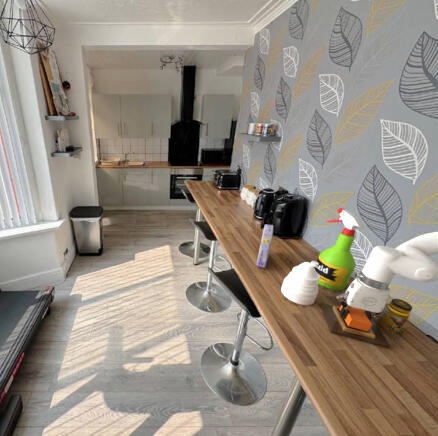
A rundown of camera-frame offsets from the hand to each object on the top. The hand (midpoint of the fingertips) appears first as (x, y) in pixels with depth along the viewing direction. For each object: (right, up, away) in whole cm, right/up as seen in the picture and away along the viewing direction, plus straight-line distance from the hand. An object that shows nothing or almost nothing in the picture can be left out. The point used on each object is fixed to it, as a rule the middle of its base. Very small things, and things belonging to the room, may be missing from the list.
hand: (353, 318), depth 88 cm
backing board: (0, -3, +1) cm, 3 cm away
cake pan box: (-15, +15, +41) cm, 46 cm away
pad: (0, -1, 0) cm, 1 cm away
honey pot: (-11, +4, +16) cm, 20 cm away
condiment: (+14, -4, +2) cm, 14 cm away
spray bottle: (+9, +8, +27) cm, 30 cm away
